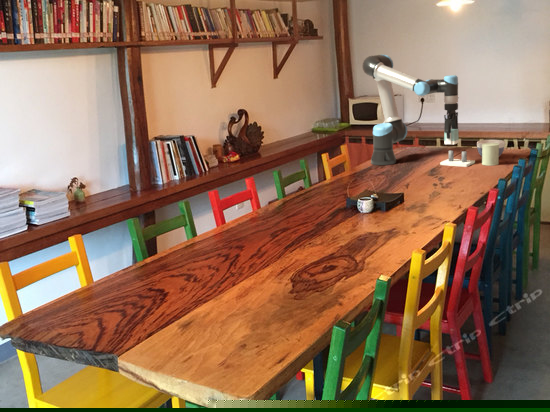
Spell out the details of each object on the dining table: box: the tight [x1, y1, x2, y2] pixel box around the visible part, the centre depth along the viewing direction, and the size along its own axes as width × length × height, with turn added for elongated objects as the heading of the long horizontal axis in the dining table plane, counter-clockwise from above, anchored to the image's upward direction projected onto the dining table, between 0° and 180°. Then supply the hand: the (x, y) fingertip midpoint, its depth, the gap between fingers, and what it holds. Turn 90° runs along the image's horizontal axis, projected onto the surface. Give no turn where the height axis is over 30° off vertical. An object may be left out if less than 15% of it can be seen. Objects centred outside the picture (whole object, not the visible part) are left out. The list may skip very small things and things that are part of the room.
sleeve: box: [443, 128, 460, 145], centre depth 368 cm, size 6×6×8 cm
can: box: [481, 143, 500, 167], centre depth 362 cm, size 9×9×12 cm
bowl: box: [476, 139, 506, 157], centre depth 380 cm, size 16×16×10 cm
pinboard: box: [439, 149, 476, 168], centre depth 369 cm, size 16×12×8 cm
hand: (451, 143), depth 369 cm, fingers closed on sleeve, 6 cm apart
